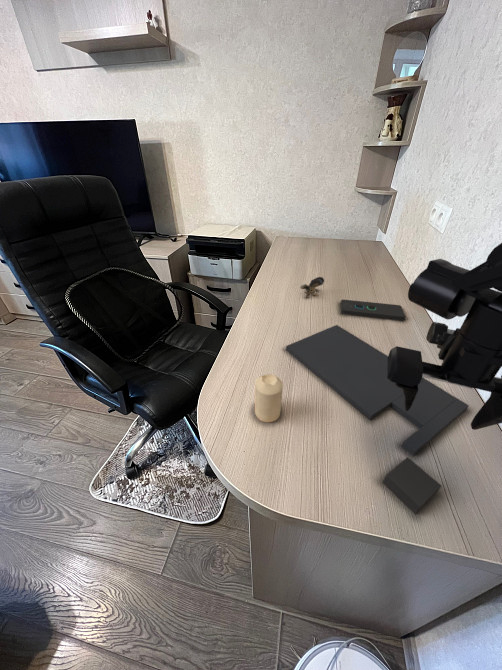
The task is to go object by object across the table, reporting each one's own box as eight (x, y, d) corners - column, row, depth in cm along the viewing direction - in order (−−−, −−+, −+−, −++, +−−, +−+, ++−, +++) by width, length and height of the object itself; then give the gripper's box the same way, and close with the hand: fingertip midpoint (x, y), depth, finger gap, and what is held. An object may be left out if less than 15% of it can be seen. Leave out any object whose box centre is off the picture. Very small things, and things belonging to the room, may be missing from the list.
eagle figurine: (321, 298, 101) (328, 285, 106) (312, 282, 98) (319, 269, 103) (304, 303, 106) (311, 290, 112) (294, 288, 103) (302, 276, 109)
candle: (271, 427, 57) (273, 393, 51) (249, 414, 60) (249, 380, 54) (285, 410, 61) (288, 377, 55) (264, 398, 63) (265, 365, 58)
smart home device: (341, 298, 100) (400, 304, 96) (340, 302, 101) (399, 309, 97) (342, 309, 93) (406, 316, 89) (341, 314, 94) (404, 321, 90)
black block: (435, 493, 46) (441, 485, 45) (415, 514, 44) (420, 507, 42) (403, 464, 51) (407, 456, 49) (382, 482, 48) (386, 474, 46)
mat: (466, 410, 61) (469, 405, 60) (412, 456, 52) (415, 451, 51) (336, 328, 87) (336, 324, 86) (285, 350, 78) (286, 345, 77)
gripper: (552, 320, 38) (494, 398, 47) (402, 296, 44) (377, 370, 53) (598, 371, 29) (517, 455, 38) (405, 333, 35) (374, 414, 44)
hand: (438, 417), depth 44 cm, fingers open, 9 cm apart
